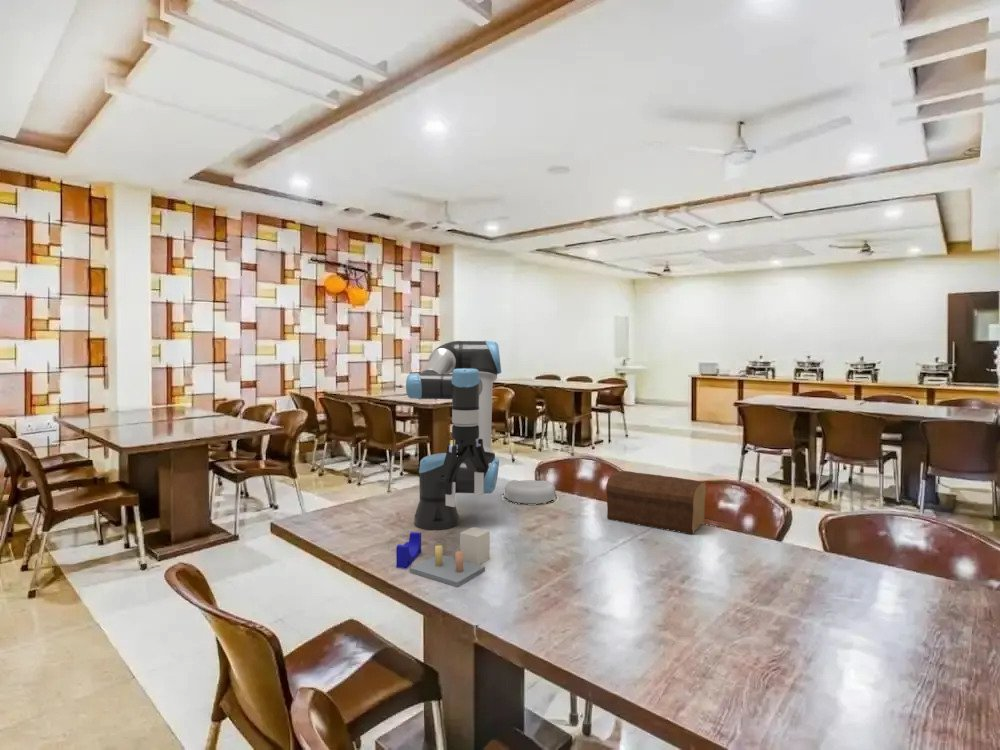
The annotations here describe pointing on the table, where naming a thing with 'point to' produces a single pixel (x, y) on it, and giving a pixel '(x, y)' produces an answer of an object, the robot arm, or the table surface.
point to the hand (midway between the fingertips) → (465, 500)
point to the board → (447, 568)
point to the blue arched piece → (408, 551)
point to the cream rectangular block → (475, 545)
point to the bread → (656, 501)
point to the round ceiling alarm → (530, 491)
